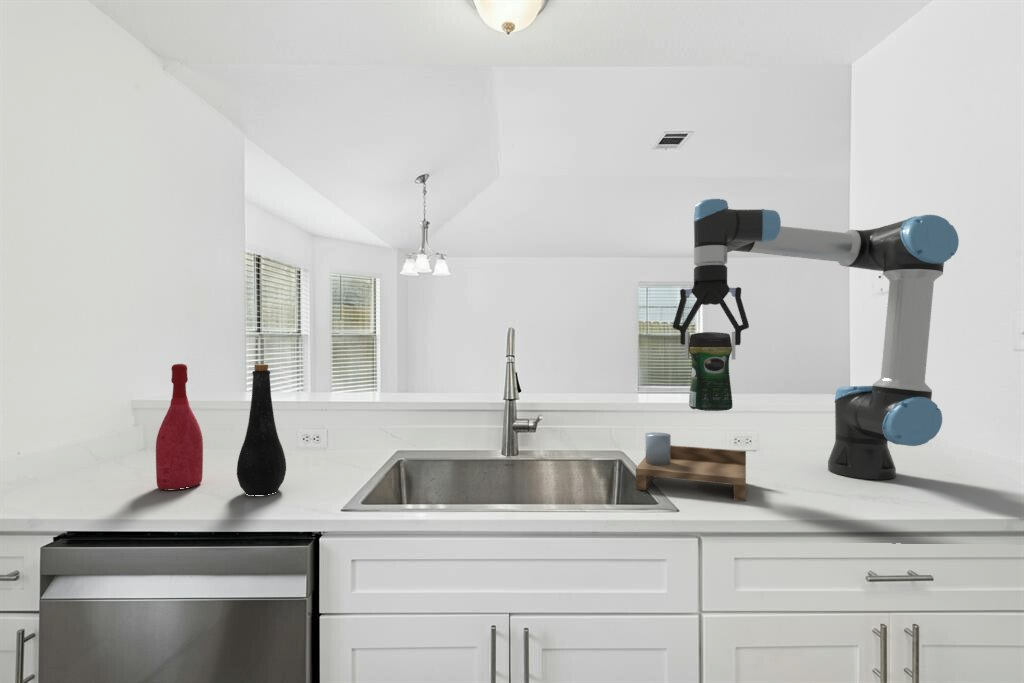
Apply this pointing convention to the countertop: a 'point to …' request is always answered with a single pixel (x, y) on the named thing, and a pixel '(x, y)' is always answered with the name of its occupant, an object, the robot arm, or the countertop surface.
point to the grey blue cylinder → (658, 448)
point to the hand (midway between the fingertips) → (710, 358)
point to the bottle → (261, 442)
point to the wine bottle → (179, 440)
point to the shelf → (699, 468)
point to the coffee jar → (710, 371)
